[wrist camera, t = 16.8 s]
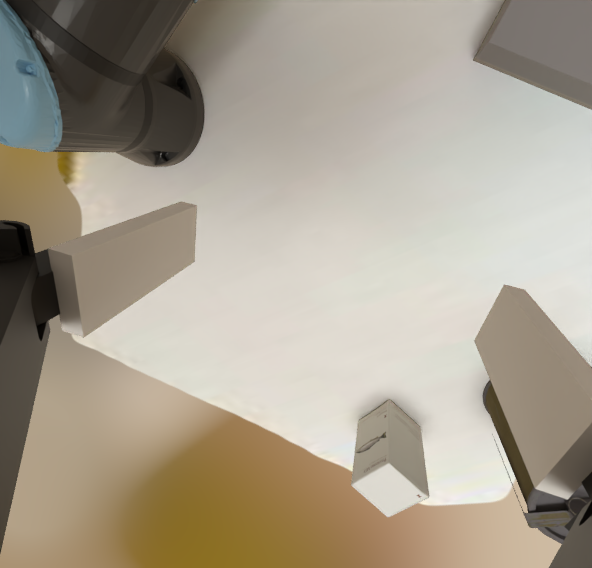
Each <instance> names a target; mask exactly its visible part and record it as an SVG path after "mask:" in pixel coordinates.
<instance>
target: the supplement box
mask: <svg viewBox="0 0 592 568" xmlns="http://www.w3.org/2000/svg"><path fill="white" fill-rule="evenodd" d="M351 485H352V486H353V487H354V488H355V489H356V490H357V491H358V492H360V493H361V494H362V495H363V496H364V497H365V498H366V499H367V500H369V501H370V502H371V503H372V504H373V505H375V506H376V507H377V508H378V509H379V510H380V511H381V512H382V513H384V515H385V516H387V517H390V516H392V515H394V514H396V513H398V512H400V511H402V510H405V509H407V508H409V507H411V506H412V505H415V504H417V503H419V502H421V501H423V500H425V499H427V498H429V491H428V483H427V475H426V467H425V459H424V451H423V443H422V435H421V428H420V427H419V426H418V425H417V424H416V423H415V422H414V421H413V420H412V419H411V418H410V417H408V416H407V415H406V414H405V413H404V412H403V411H402V410H401V409H400V408H399V407H397V406H396V405H395V404H394V403H393V402H392V401H391V400H388V401H387V402H385V403H384V404H383V405H381V406H380V407H379V408H377V409H376V410H374V411H373V412H371V413H370V414H368V415H367V416H365V417H364V418H362V419H360V420H359V421H358V429H357V437H356V447H355V456H354V465H353V474H352V483H351Z"/></svg>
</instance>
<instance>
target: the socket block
mask: <svg viewBox="0 0 592 568" xmlns="http://www.w3.org/2000/svg"><path fill="white" fill-rule="evenodd" d="M474 61H476V62H479V63H481V64H483V65H486V66H488V67H491V68H493V69H495V70H498V71H500V72H503V73H505V74H507V75H510V76H512V77H515V78H517V79H520V80H522V81H524V82H527V83H529V84H532V85H534V86H536V87H539V88H541V89H544V90H546V91H548V92H551V93H553V94H556V95H558V96H560V97H563V98H565V99H568V100H570V101H572V102H575V103H577V104H580V105H582V106H584V107H587V108H589V109H592V0H505V2H504V4H503V6H502V7H501V9H500V11H499V13H498V15H497V17H496V19H495V21H494V22H493V24H492V26H491V28H490V30H489V32H488V34H487V35H486V37H485V39H484V41H483V43H482V45H481V47H480V49H479V50H478V52H477V54H476V56H475V58H474Z"/></svg>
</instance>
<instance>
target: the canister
mask: <svg viewBox="0 0 592 568" xmlns="http://www.w3.org/2000/svg"><path fill="white" fill-rule="evenodd" d="M483 402H484V406H485V408H486V410H487V411H488V413H489V414H490V416H491V418H492V421H493V423H494V426H495V428H496V431H497V433H498V435H499V438H500V440H501V443H502V445H503V448H504V450H505V453H506V455H507V457H508V460H509V462H510V465H511V467H512V470H513V472H514V475H515V477H516V479H517V482H518V484H519V487H520V489H521V492H522V494H523V497H524V499H525V501H526V504H527V508H528V513H524V512H523V513H524V516H525V518H526V520H527V523H528V525H529V527H531V528H538V529H539V530H540V531H541V532H542V533H543V534H545V535H546V536H548V537H550V538H552V539H554V540H556V541H557V542H559V543H561V544H562V543H563V542H564V540H565V538H566V536H567V534H568V533H569V531H568V530H567V529H566V528H565V527H564V526H565V525H566V524H567V523H568V522H569V521H570V520H571V519H572V518H573V517H574V516H575V515H576V514H577V513H578V512H579V511H580V510H581V509H582V508H583V507H585V506H586V505H587V504H588V503H589V502H590V501H591V499H590V497H589V496H588V494H587V492H586V490H585V488H584V486H583V485H581V486H580V487H579V488H578V489H577V490H576V491H575V492H574V493H573V494H572V495H571V497H570V498H569V499H568V500H567V499H564V498H561V497H558V496H555V495H552V494H549V493H546V492H543V491H540V490H537V489H535V487H534V485H533V483H532V480H531V478H530V475H529V473H528V470H527V468H526V466H525V463H524V461H523V458H522V456H521V453H520V451H519V448H518V446H517V444H516V441H515V439H514V436H513V434H512V431H511V429H510V427H509V424H508V422H507V419H506V417H505V414H504V412H503V410H502V407H501V405H500V402H499V400H498V397H497V395H496V392H495V390H494V388H493V385H492V383H491V381H490V382H489V383H488V384H487V385H486V387H485V389H484V393H483ZM492 435H493V434H492ZM494 440H495V439H494ZM496 445H497V444H496ZM497 447H498V446H497ZM498 450H499V449H498ZM500 455H501V454H500ZM501 458H502V457H501ZM502 460H503V459H502ZM503 463H504V462H503ZM504 465H505V464H504ZM505 468H506V467H505ZM506 470H507V469H506ZM507 473H508V472H507ZM508 475H509V474H508ZM509 478H510V477H509ZM510 480H511V479H510ZM511 483H512V482H511ZM512 485H513V484H512ZM522 511H523V510H522Z"/></svg>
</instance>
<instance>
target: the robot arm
mask: <svg viewBox="0 0 592 568" xmlns="http://www.w3.org/2000/svg"><path fill="white" fill-rule="evenodd" d="M197 1H198V0H0V143H1V144H4V145H7V146H11V147H16V148H26V149H35V150H37V151H43V152H52V151H53V152H54V151H55V152H116V153H118V154H120V155H122V156H124V157H126V158H128V159H130V160H132V161H134V162H136V163H139V164H142V165H146V166H152V167H163V166H171V165H175V164H177V163H179V162H181V161H183V160H184V159H185V158H187V157H188V156H189V155H190V154H191V152H192V151H193V150H194V148H195V147H196V145H197V143H198V141H199V138H200V136H201V132H202V128H203V121H204V108H203V100H202V96H201V92H200V89H199V86H198V84H197V81H196V79H195V77H194V76H193V74H192V72H191V71H190V69H189V68H188V67H187V65H186V64H185V63H184V62H183V61H182V60H181V59H180V58H179V57H177V56H176V55H175V54H173V53H172V52H170V51H168V50H166V49H164V48H163V47H164V46H165V44H166V43H167V41H168V40H169V38H170V37H171V35H172V34H173V32H174V30H175V29H176V27H177V26H178V24H179V23H180V21H181V20H182V18H183V17H184V15H185V14H186V12H187V11H188V9H189V8H190V6H191V4H192V3H193V2H194V3H196V2H197ZM196 214H197V206H196V205H193V204H189V203H185V202H179V203H176V204H173V205H170V206H167V207H164V208H162V209H159V210H156V211H153V212H150V213H147V214H144V215H142V216H139V217H136V218H133V219H130V220H127V221H124V222H122V223H119V224H116V225H113V226H110V227H107V228H104V229H102V230H99V231H96V232H93V233H90V234H87V235H84V236H82V237H79V238H76V239H73V240H70V241H67V242H65V243H62V244H59V245H56V246H53V247H50V248H48V249H47V250H44V251H41V252H38V253H35V251H34V247H33V241H32V236H31V231H30V227H29V225H27V224H25V223H22V222H17V221H6V220H3V221H2V220H1V221H0V552H1V548H2V544H3V539H4V535H5V530H6V526H7V521H8V517H9V512H10V508H11V504H12V499H13V494H14V490H15V486H16V481H17V477H18V472H19V467H20V463H21V459H22V454H23V450H24V445H25V441H26V437H27V432H28V428H29V423H30V419H31V414H32V410H33V405H34V401H35V396H36V392H37V387H38V383H39V378H40V374H41V370H42V365H43V361H44V355H45V351H46V347H47V343H48V338H49V334H50V327H49V323H48V320H50V319H51V318H53V317H55V316H57V315H60V321H61V327H62V331H65V332H69V333H71V334H74V335H77V336H80V337H83V338H84V337H85V336H87V335H88V334H90V333H91V332H93V331H94V330H95V329H97V328H98V327H100V326H101V325H103V324H104V323H106V322H107V321H109V320H110V319H111V318H113V317H114V316H116V315H117V314H119V313H120V312H122V311H123V310H125V309H126V308H128V307H129V306H130V305H132V304H133V303H135V302H136V301H138V300H139V299H141V298H142V297H144V296H145V295H147V294H148V293H149V292H151V291H152V290H154V289H155V288H157V287H158V286H160V285H161V284H163V283H164V282H165V281H167V280H168V279H170V278H171V277H173V276H174V275H176V274H177V273H179V272H180V271H182V270H183V269H184V268H186V267H187V266H189V265H190V264H192V263H193V262H195V238H196ZM474 341H475V344H476V346H477V349H478V351H479V353H480V356H481V358H482V361H483V363H484V366H485V368H486V371H487V373H488V375H489V378H490V380H491V383H492V385H493V388H494V390H495V392H496V395H497V397H498V400H499V402H500V405H501V407H502V410H503V412H504V414H505V417H506V419H507V422H508V424H509V427H510V429H511V431H512V434H513V436H514V439H515V441H516V444H517V446H518V448H519V451H520V453H521V456H522V458H523V461H524V463H525V466H526V468H527V470H528V473H529V475H530V478H531V480H532V483H533V485H534V487H535V489H537V490H540V491H543V492H546V493H549V494H552V495H555V496H558V497H561V498H564V499H567V500H568V499H569V498H570V497H571V495H572V494H573V493H574V492H575V491H576V490H577V489H578V488H579V487H580V486H581V485H583V486H584V488H585V490H586V492H587V494H588V496H589V497H590V499H591V501H590V502H589V503H588V504H587V505H586V506H585V507H583V508H582V509H581V510H580V511H579V512H578V513H577V514H576V515H575V516H574V517H573V518H572V519H571V520H570V521H569V522H568V523H567V524H566V525H565V526H564V527H565V528H566V529H567V530H568V531H569V533H568V534H567V536H566V538H565V540H564V542H563V543H562V545H561V547H560V549H559V550H558V552H557V554H556V556H555V558H554V560H553V561H552V563H551V565H550V567H549V568H592V367H591V366H590V365H589V364H588V363H587V362H586V361H585V360H584V358H583V357H582V356H581V355H580V354H579V353H578V351H577V350H576V349H575V348H574V347H573V346H572V344H571V343H570V342H569V341H568V340H567V339H566V337H565V336H564V335H563V334H562V333H561V331H560V330H559V329H558V328H557V327H556V326H555V324H554V323H553V322H552V321H551V320H550V319H549V317H548V316H547V315H546V314H545V313H544V312H543V310H542V309H541V308H540V307H539V306H538V305H537V303H536V302H535V301H534V300H533V299H532V298H531V296H530V295H529V294H528V293H527V292H526V291H525V290H524V289H520V288H516V287H512V286H508V285H504V286H503V288H502V290H501V292H500V293H499V295H498V297H497V299H496V301H495V303H494V305H493V307H492V308H491V310H490V312H489V314H488V316H487V318H486V320H485V322H484V323H483V325H482V327H481V329H480V331H479V333H478V335H477V337H476V338H475V340H474Z"/></svg>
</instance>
